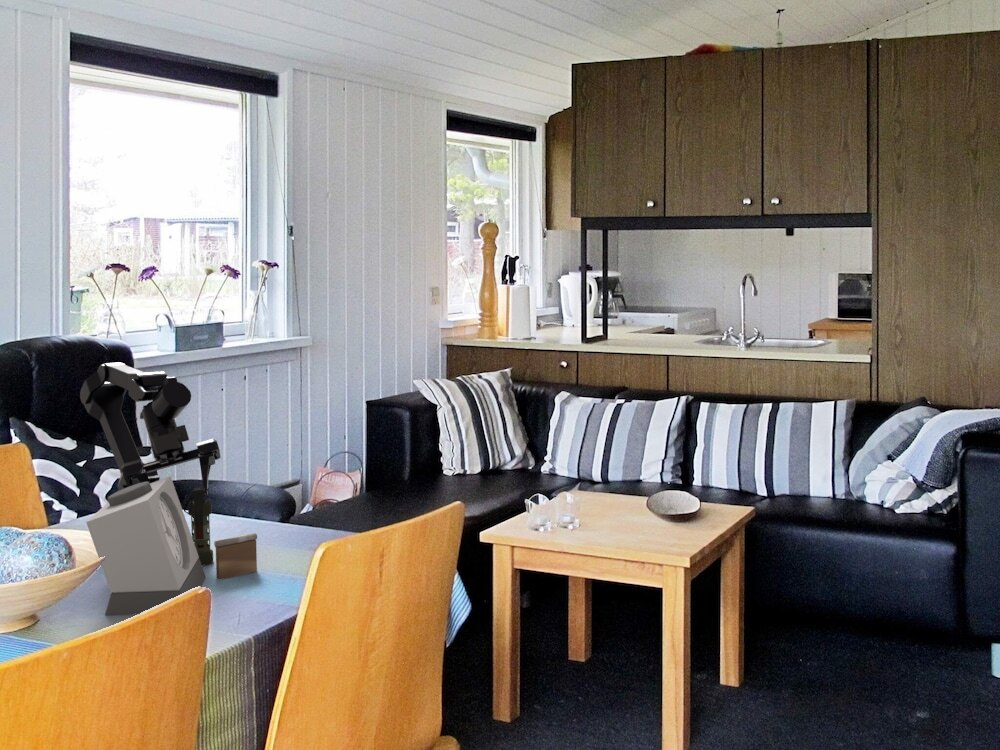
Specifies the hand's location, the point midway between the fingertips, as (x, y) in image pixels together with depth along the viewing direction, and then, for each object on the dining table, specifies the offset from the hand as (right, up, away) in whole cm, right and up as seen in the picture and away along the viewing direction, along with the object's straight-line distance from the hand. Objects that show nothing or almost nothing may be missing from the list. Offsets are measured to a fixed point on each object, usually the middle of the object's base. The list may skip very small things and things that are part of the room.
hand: (183, 501), depth 222 cm
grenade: (+4, -12, -3) cm, 13 cm away
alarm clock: (+1, -14, -23) cm, 27 cm away
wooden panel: (+13, -13, -10) cm, 21 cm away
